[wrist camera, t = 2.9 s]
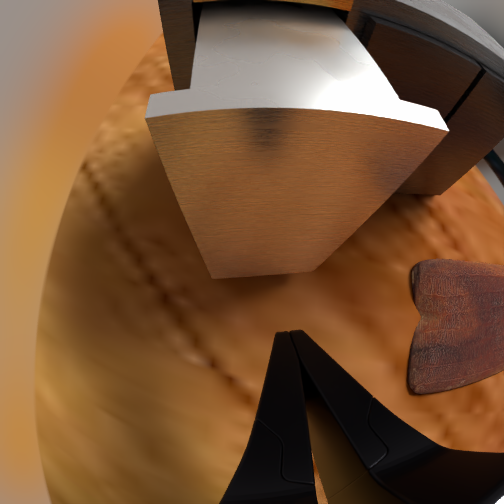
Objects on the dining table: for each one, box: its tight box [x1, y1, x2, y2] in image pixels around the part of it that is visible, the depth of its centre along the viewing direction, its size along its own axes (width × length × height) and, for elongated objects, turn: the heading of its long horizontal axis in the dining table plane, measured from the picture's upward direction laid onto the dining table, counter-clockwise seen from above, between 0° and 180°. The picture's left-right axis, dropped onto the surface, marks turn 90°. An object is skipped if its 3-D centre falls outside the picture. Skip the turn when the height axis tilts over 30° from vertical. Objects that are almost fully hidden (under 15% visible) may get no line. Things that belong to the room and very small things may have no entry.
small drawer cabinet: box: [158, 0, 504, 195], centre depth 12 cm, size 9×19×14 cm, turn 95°
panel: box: [145, 0, 449, 279], centre depth 11 cm, size 8×6×12 cm
